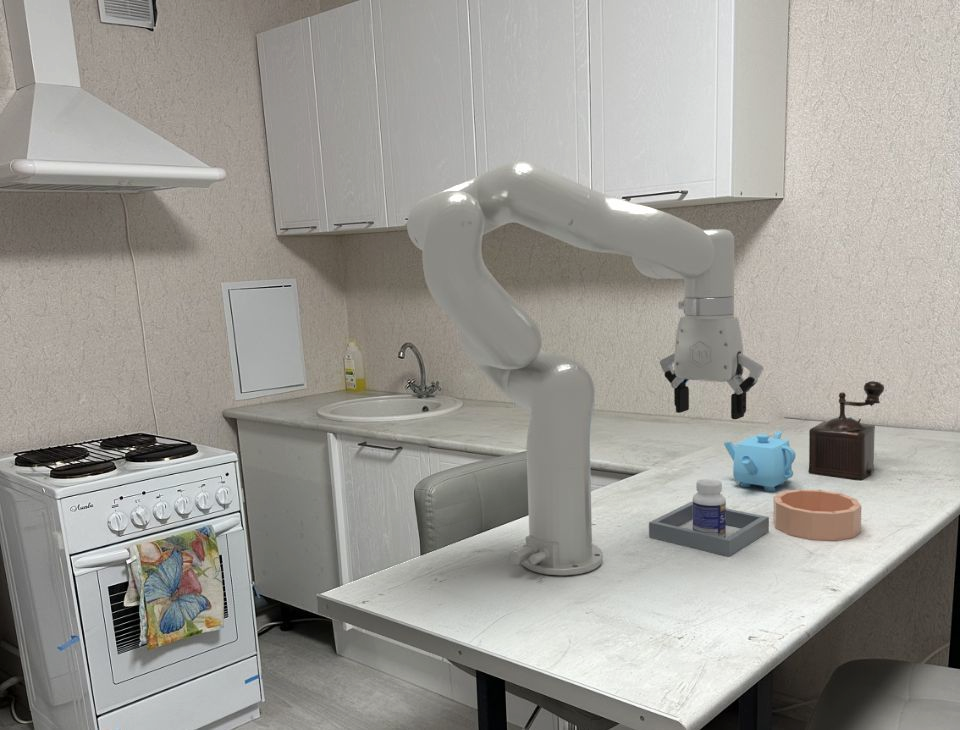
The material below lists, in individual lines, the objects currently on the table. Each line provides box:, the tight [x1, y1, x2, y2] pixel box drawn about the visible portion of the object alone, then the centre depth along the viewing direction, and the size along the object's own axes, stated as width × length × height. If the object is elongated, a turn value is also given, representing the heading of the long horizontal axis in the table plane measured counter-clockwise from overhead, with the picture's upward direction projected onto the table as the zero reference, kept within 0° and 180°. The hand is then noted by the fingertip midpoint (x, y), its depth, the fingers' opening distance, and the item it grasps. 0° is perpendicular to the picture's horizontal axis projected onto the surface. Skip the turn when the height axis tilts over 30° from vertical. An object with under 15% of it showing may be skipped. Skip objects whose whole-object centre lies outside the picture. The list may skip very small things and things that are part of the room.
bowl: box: [772, 489, 862, 542], centre depth 131 cm, size 13×13×4 cm
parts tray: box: [648, 501, 770, 558], centre depth 130 cm, size 14×14×2 cm
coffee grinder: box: [808, 380, 885, 481], centre depth 164 cm, size 16×11×18 cm
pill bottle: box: [692, 478, 727, 537], centre depth 129 cm, size 5×5×9 cm
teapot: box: [723, 430, 796, 492], centre depth 156 cm, size 18×14×10 cm
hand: (709, 414), depth 127 cm, fingers open, 9 cm apart
